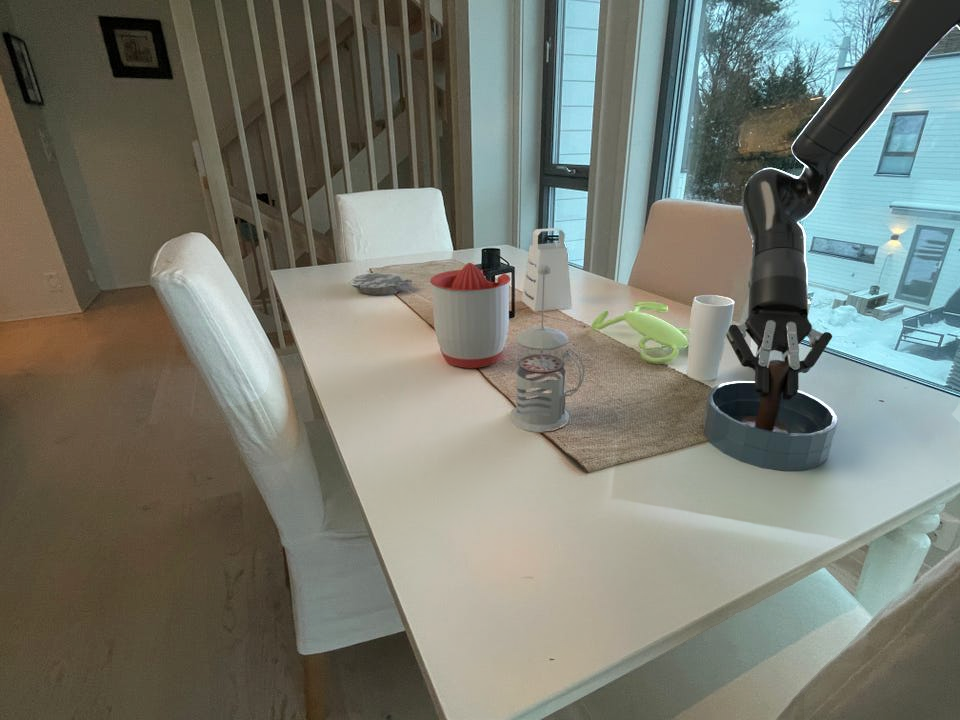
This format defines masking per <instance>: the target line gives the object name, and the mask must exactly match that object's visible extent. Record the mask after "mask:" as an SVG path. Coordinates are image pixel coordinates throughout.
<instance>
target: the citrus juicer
mask: <svg viewBox="0 0 960 720" xmlns="http://www.w3.org/2000/svg"><path fill="white" fill-rule="evenodd" d="M510 281H511V276H509V275H508V274H506V273H502V274H501V275H500V276H498V277H497V281H496V282H495V281H489V280H488V279H487V278H486V276H485V275H484V272H483V269H479V268H478V266H477V265H475V264H474V263H472V262H467V263H466V264H465V265H464V266H463V267H462V268H461V269H455V270H449V271H448V270H447V271H444V272H440V273H437V274H435V275H433V276H432V277H430V281H429V282H430V284H431V295H432V296H431V297H432V311H433V312H432V313H433V324H434V332H435V336H436V341H437V343H438V345H439V350H440V353H441V356H442V357H443V359H444V361H445V362H447V363H448V364H450V365H452V366H455V367H459V368H467V369H472V370H473V369H474V370H475V369H479V368H483V367H488V366H490V365H493V364H495V363H497V362H498V361H499V360H500V359H501V357H502V354H503V352H504V350H505V344H506V342H507V338H508V332H509V325H510V324H509V323H510Z"/></svg>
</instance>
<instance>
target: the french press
mask: <svg viewBox="0 0 960 720" xmlns="http://www.w3.org/2000/svg"><path fill="white" fill-rule="evenodd" d="M537 267H538V266H537ZM550 272H551V270H550V268H549V267H548V266H547V265H541V266H540V267H538V274H543V295H542V311H541V325H540V326H532V327H529V328H527V329H525V330H522V331H521V332H519V333H517V334H516V336H515V337H514V339H515V341H516V343H517V345H518V346H520V347H521V348H524V349H528V350H531V351H540V353H532V354H527V355H524V356H522V357H521V358H519V359H518V362H517V363H518V365H519V366H517V368H516V381H515V382H516V385H515V387H516V392H515V403H516V404H515V407H514V408H513V409H511V411H510V414H509V419H510V422H511V423H512V424H513V425H514V426H516V428H519V429H522V430H525V431H527V432H532V433H539V434H540V433H544V432H543V431H546V430H548V429H549V430H551V429H555V428H558V427H560V426H562V425H563V424H565V423H567V422H568V418H569V417H570V414H569V413H568V411H566V398H567V397H569V396H573V394H575V393H576V392H577V391H578V390H579V388H580V387H581V385H582V384H583V381H584V379H585V377H584V376H585V370H586V369H585V365H584V362H583V360H582V358H581V356H580V355H578V354H577V352H575V351H574V350H573V349H571V348H567V349H566V350H565V352H564V353H562V358H560V357H558V356H557V355H553V354H546V353H543V352H545V351H546V352H547V351H554V350H559V349H561V348H563V347H565V346H567V344H568V341H569V339H570V338H569V337H568V336H567V334H566V333H564V332H563V331H561V330H560V329H557V328H552V327H549V326H545V325H544V311H543V309H544V278H545V274H550ZM569 352H571V353H573V354H574V355H575V356H576V357H577V358H578V360H579V362H580V364H579V363H578V361H577V359H575V358H574V357H573V356H572V355H571V354H570V353H569ZM568 357H569V358H570V359H572V361H573V362H574V363H575V364H576V366H577V369H578V373H579V377H578V383H577V386H576V387H574V388H573V389H569V390H566V380H567V379H566V376H567V371H566V369H565V368H564V366H565V361H566V360H567V359H568ZM580 365H581V368H582V371H581V368H580ZM557 372H558V373H559V374H560V375H561V376H562V377H561V376H560V375H559V374H557ZM535 374H537V375H538V376H533V377H527V376H529V375H535ZM549 377H553V378H555V379H544V378H549ZM543 379H544V380H543ZM539 380H542V381H539ZM530 389H536V390H531V391H527V390H530ZM546 391H551V392H548V393H547V392H546Z"/></svg>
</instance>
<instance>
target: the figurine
mask: <svg viewBox="0 0 960 720" xmlns="http://www.w3.org/2000/svg"><path fill="white" fill-rule="evenodd" d="M641 311H653V312H656V313H661V314H666V313H667V312H668V311H669V306H668V305H667V304H665V303H662V302H652V301H636V302H635V303H634V308H633V309H632V311H631V310H630V311H629V310H628V311H626V312H624V313H623V315H619V316H617V317H613V318H611V319H608V320H606V321H605V319H607V317H608V316H609V311H608V310H604V311H603V312H602V313H601V314H599V315H598V316H597V317H596V318H595V319H594V320H593V322H592V324H591V326H590V330H591V331H595V330H599V331H600V330H603V329H605V328H607V327H609V326H612V325H615V324H618V323H620V322H623V321H625V322H626V323H627V325H628V326H629V327H630V328H631V329H633V330H634V331H636V333H638V334H640V335H642V336H643V337H642V338H640V339H639V342H638V347H639V348H640V350H639V354H640V357H641V359H643V360H644V361H645V362H648V363H650V364H653V365H661V364H666V363H670V362H672V361H673V360H674V359H676V358H677V357H678V356H679V355H680V349H685V348H687V347H689V339H688V338H687V336H686V335H689V328H676V327H675V326H674V325H672V324H671V323H669V322H667V321H665V320H663V319H661V318H659V317H656V316H654V315H651V314H649V313H645V312H641ZM649 340H651V341H653V342H656V343H658V344H660V345H661V346H655V347H652V346H651V347H647V346H646V345H645V344H646V343H647V342H648V341H649ZM670 349H672V352H671V353H670V354H669V355H667V356H664V357H656V358H655V357H651V356H649V355H646V354H645V352H644V351H653V350H662V351H663V352H667V351H669V350H670ZM643 350H644V351H643Z"/></svg>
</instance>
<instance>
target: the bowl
mask: <svg viewBox="0 0 960 720" xmlns="http://www.w3.org/2000/svg"><path fill="white" fill-rule="evenodd" d="M760 401H761V396H759V392H756V391H755V380H754V381H753V380H735V381H728V382H724V383H720V384H718V385H716V386H714V387H712V388H711V390H710V391H709V393H708V394H707V397H706V403H705V408H704V415H703V420H702V433H703V435H704V437H705V438H706V440H707V441H708V442H709V443H710V444H711V445H712V446H713V447H715V448H716V449H717V450H718V451H720V452H721V453H723V454H725V455H726V456H729V457H731V458H733V459H735V460H737V461H740V462H741V463H746V464H749V465H751V466H755V467H759V468H762V469H768V470H774V471H780V472H781V471H782V472H783V471H784V472H786V471H787V472H788V471H790V472H792V471H794V472H795V471H797V472H798V471H807V470H811V469H815V468H818V467H820V465H822V464H823V463H824V462H826V461H827V459H828V456H829V453H830V449H831V446H832V444H833V443H832V442H833V439H834V436H835V433H836V429H837V426H838V416H837V414H836V413H835V411H834V410H833V409H832V408H831V407H830V406H829V405H828V404H826V403H825V402H824V401H822V400H821V399H819V398H817V397H815V396H813V395H810V394H809V393H807V392H804V391H802V390H798V392H797V393H796V394H795V395H794V396H793V397H792V398H791V399H790V400H786V399H783V393H782V397H781V401H780V405H779V409H778V413H777V417H776V420H777V421H779V422H781V423H783V424H784V425H785V426H786V427H787V429H788V433H781V432H773V431H768V430H764V429H760V428H756V427H753V426H749V425H747V424H745V423H742V420H743V419H744V418H745V417H748V416H757V415H758V410H759V406H760Z"/></svg>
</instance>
